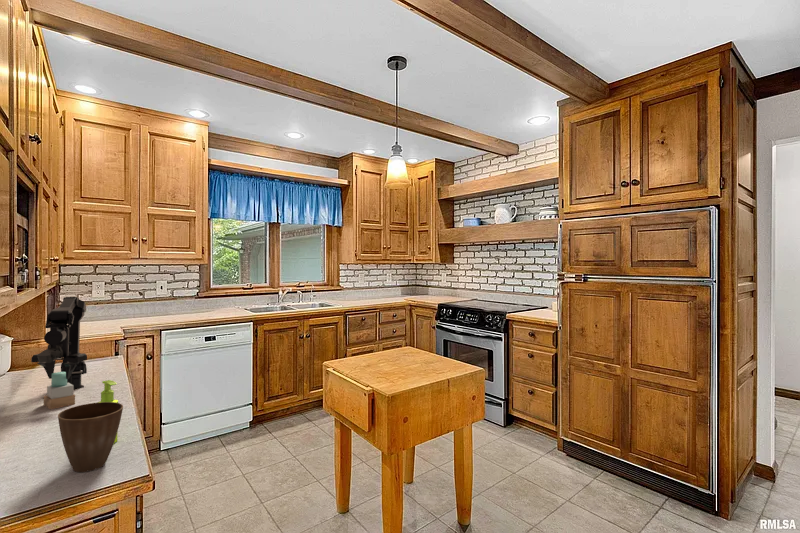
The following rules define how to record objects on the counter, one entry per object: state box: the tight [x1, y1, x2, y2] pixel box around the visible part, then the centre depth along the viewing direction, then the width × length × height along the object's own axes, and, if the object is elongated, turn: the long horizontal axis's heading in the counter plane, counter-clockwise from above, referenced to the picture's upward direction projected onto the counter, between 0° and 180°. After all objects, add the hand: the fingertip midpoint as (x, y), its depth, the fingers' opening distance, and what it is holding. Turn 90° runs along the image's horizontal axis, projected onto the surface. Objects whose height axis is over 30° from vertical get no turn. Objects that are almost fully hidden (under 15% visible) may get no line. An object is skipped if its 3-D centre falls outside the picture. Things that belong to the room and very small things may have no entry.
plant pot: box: [57, 401, 124, 473], centre depth 118 cm, size 15×15×16 cm
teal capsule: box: [50, 371, 67, 387], centre depth 170 cm, size 5×5×5 cm
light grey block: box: [46, 382, 75, 399], centre depth 170 cm, size 7×7×4 cm
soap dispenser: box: [99, 379, 119, 444], centre depth 134 cm, size 6×7×20 cm
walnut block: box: [43, 393, 76, 410], centre depth 170 cm, size 8×8×4 cm
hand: (59, 378), depth 170 cm, fingers open, 7 cm apart
